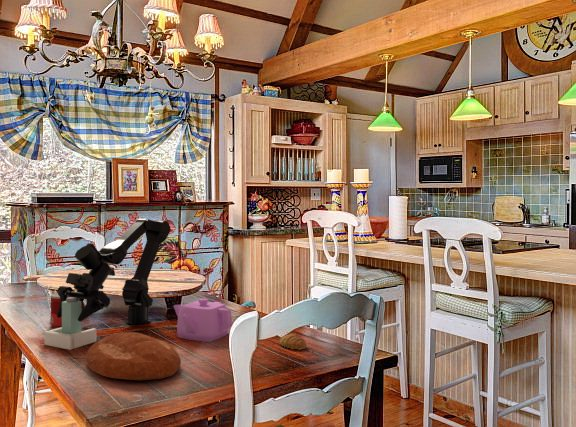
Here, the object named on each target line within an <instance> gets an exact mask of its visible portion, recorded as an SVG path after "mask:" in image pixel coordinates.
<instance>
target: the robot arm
mask: <svg viewBox="0 0 576 427" xmlns="http://www.w3.org/2000/svg"><path fill="white" fill-rule="evenodd" d="M171 229H172V228H171V225H170V223H169V221H167V220H155V219H153V220H152V219H149V218H138V219H136V220H135V222H134V223H133V224H132V225H131V226H130V227H129V228H128V229H127V230H126V231H125V232H124V233H123V234H122V235H121V236H120V237H118V238H117V239H116V240H114V241H112V242H109V243H107V244H106V245H105V246H102V247H101V248H100V250H98V249H97V247H96V245H95V244H93V243H89V242H88V243H87V244H86V245H84V246H82V247H81V248H79V249H77V251H76V252H75V253H74V254H75V255H74V258H75V259H76V260H77V261H78V262H79V263H80V264H81V265H82V267H83V268H84V269H86V270H87V271H88V270H89V272H88V273H87V272H83V273H82V274H79V273H72V272H69V273H67V274H68V275H67V277H66V280H65V284H69V285H72V286H73V287H71V286H69V285H68V286H67V285H61V286H59V287H58V288H57V289H56V290H57V291H56V290H55V291H56V292H57V293H58V295H59V296H60V305H59V309H58V312H57V317H58V318H60V317H61V316H62V302H64V301H66V298H70V297H76V298H77V300H80V299H81V300H85V301H86V304H85V306H84V307H83V309H81V314H80V315H79V317H78V321H81V322H83V321H84V320H85V319H87V318H88V317H90V316H91V315H93V314H96V313H97V312H99V311H100V310H104V308H106V309H108V307H109V305H110V304H111V299H110V297H109V296H108V295H107V294H106V293H105V291H103V289H104V288H105V286H104V283H105V281H106V280H107V278H108V277H109V276H111V277H112V276H113V277H115V276H116V271H115V268H114V267H113V266H112V267H111V265H115V266H116V265H120V264H122V262H123V261H124V259H125V258H126V257H127V255H128V250H129V249H130V247H132V246H133V245H134V244H135V243H136V242H137V241H138V240H139V239H140V238H141V237H142V236H143V235H144V234H145V237H146V242H145V245H144V248H143V250H142V253H141V255H140V258H139V261H138V263H137V266H136V269H135V273H134V275H133V276H132V278H129V279H128V278H127V279H126V280H125V281H124V285H123V287H122V288H121V290H122V292H121V296H122V299H123V302H124V305H125V306H128V310H127V320H125V323H126V324H131V325H134V326H138V325H139V326H140V325H143V324H148V323H152V320H150V319H149V308H150V307H151V306H152V305H153V301H154V299H153V298H152V297H151V296H150V295H149V290H150V288H149V283H148V279H149V277H150V273H151V271H152V269H153V265H154V263H155V259H156V257H157V253H158V251H159V249H160V246H161V244H163V243H164V242H165V241H166V240H167V238H168V236H169V235H170V232H171ZM75 290H76V291H75Z"/></svg>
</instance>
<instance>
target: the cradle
mask: <svg viewBox="0 0 576 427" xmlns="http://www.w3.org/2000/svg"><path fill="white" fill-rule="evenodd" d="M96 342H97V328H93V327H92V328H89V329H86V330H81V332H78V333H75V334H71V335H69V334H64V333H62V327H60V328H54V329H50V330H46V331H44V345H45V346H50V347H55V348H59V349H64V350H73V349H77V348H80V347H83V346H86V345H90V344H92V343H93V344H94V343H96Z"/></svg>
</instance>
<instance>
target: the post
mask: <svg viewBox="0 0 576 427" xmlns="http://www.w3.org/2000/svg"><path fill="white" fill-rule="evenodd" d="M81 312H82V300H79V299H77V298H76V297H70V298H66V301H64V302H62V333H64V334H69V335H71V334H75V333H78V332H82V321H78V317H79V315H80V314H81Z"/></svg>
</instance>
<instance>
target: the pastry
mask: <svg viewBox="0 0 576 427" xmlns="http://www.w3.org/2000/svg"><path fill="white" fill-rule="evenodd" d="M278 342H279V344H280V346H282V347H283V346H284V347H283V348H285V347H287V348H286V349H288V348H292V349H299V350H298V351H300V350H305V349H306V347H307V342H306V340H305V339H304V338H303V337H301V336H300V335H298V334H297V333H291V332H289V334H288V335H286V336H284V337H281V336H280V337H279V339H278Z"/></svg>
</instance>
